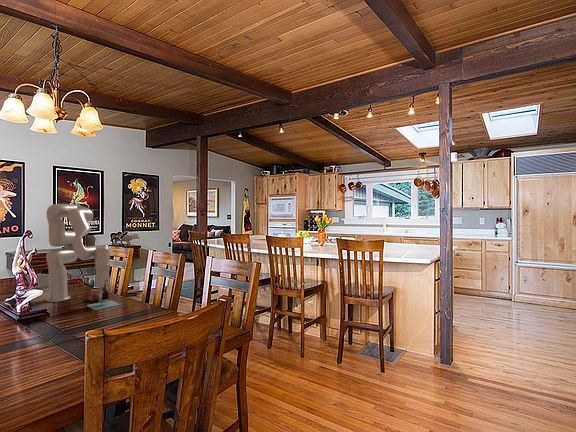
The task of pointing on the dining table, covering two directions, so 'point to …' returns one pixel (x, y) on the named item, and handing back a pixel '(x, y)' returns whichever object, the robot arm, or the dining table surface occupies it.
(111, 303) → the card
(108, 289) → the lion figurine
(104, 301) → the tube
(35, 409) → the dining table surface
